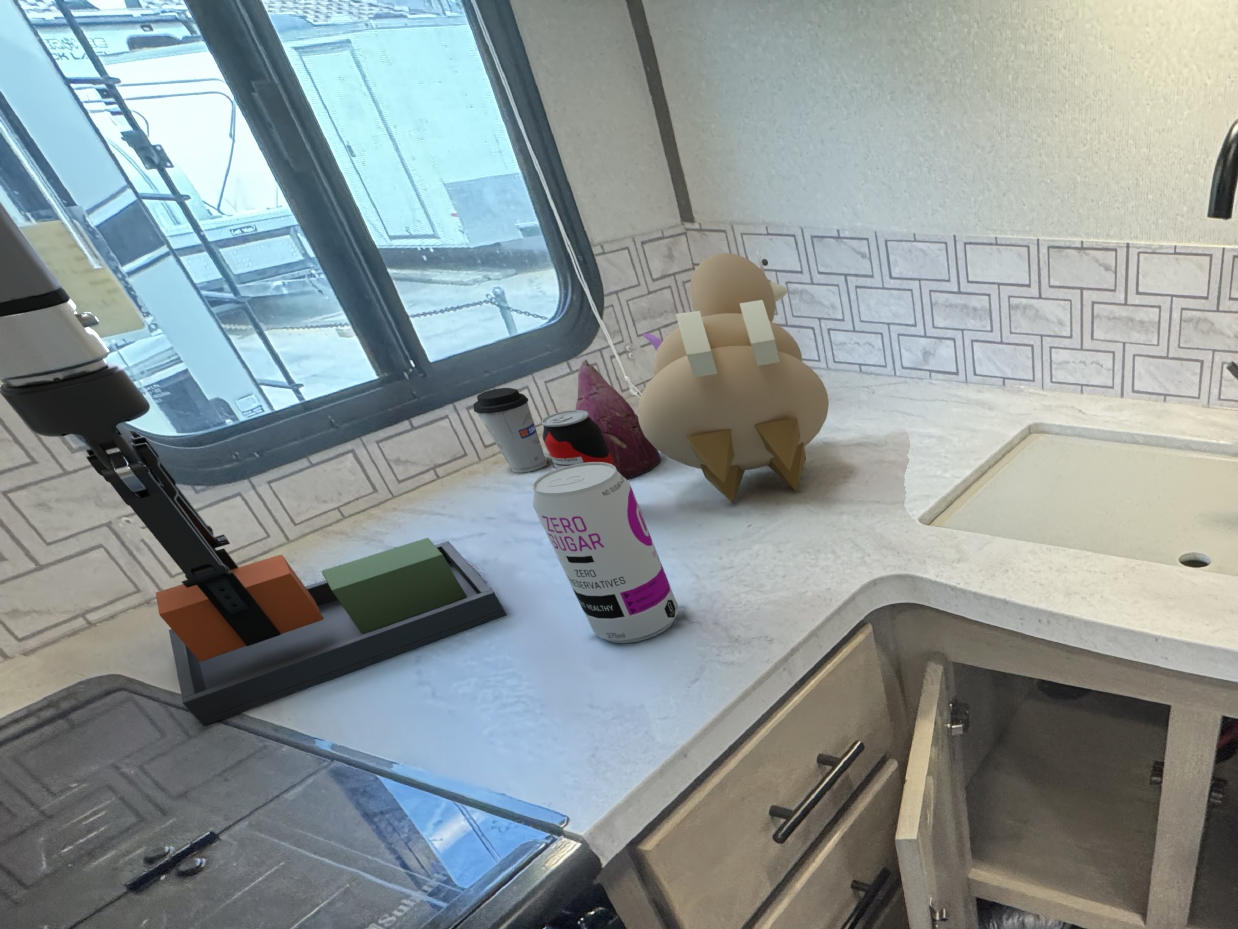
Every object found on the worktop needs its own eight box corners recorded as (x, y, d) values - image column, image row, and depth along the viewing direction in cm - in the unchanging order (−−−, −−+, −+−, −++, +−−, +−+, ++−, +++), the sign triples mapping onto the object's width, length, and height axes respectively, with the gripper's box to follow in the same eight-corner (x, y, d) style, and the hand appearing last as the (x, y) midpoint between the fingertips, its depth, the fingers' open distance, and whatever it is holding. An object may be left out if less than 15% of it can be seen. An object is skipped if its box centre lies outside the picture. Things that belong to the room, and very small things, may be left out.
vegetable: (604, 482, 122) (553, 371, 115) (672, 464, 122) (625, 352, 115) (578, 492, 113) (521, 372, 106) (652, 472, 113) (600, 351, 106)
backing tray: (187, 651, 85) (168, 629, 83) (460, 561, 97) (448, 540, 95) (203, 726, 74) (182, 703, 73) (506, 614, 87) (494, 592, 85)
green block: (350, 614, 88) (320, 570, 84) (452, 579, 92) (427, 537, 89) (362, 634, 84) (331, 590, 81) (467, 597, 89) (442, 554, 86)
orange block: (194, 638, 80) (155, 592, 77) (314, 599, 85) (281, 554, 82) (200, 662, 77) (158, 614, 73) (324, 619, 81) (290, 573, 78)
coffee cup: (494, 477, 117) (457, 403, 111) (516, 459, 122) (482, 387, 116) (543, 474, 117) (509, 399, 110) (563, 455, 122) (532, 383, 116)
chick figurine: (774, 162, 90) (551, 187, 85) (847, 415, 90) (629, 454, 86) (796, 322, 119) (631, 347, 114) (850, 512, 120) (688, 545, 115)
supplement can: (678, 597, 87) (622, 453, 77) (682, 634, 81) (622, 484, 72) (597, 615, 85) (529, 470, 76) (595, 654, 80) (521, 503, 70)
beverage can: (642, 511, 105) (604, 412, 97) (599, 530, 101) (555, 429, 93) (612, 502, 108) (573, 405, 100) (569, 520, 104) (524, 422, 96)
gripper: (120, 380, 62) (320, 646, 77) (113, 342, 73) (289, 581, 88) (-16, 407, 58) (222, 681, 73) (-1, 363, 69) (203, 609, 84)
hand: (258, 626), depth 81 cm, fingers closed on orange block, 6 cm apart
